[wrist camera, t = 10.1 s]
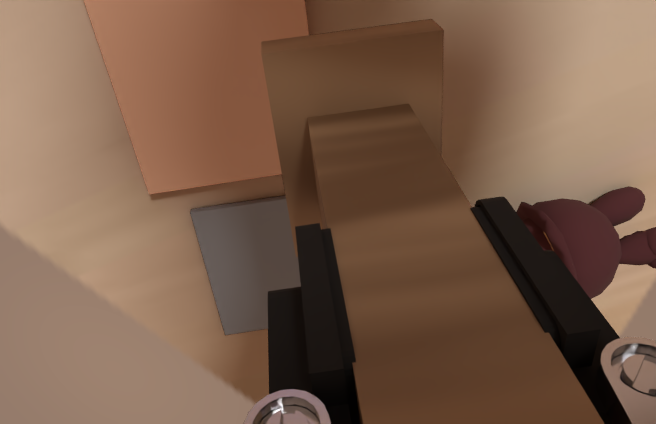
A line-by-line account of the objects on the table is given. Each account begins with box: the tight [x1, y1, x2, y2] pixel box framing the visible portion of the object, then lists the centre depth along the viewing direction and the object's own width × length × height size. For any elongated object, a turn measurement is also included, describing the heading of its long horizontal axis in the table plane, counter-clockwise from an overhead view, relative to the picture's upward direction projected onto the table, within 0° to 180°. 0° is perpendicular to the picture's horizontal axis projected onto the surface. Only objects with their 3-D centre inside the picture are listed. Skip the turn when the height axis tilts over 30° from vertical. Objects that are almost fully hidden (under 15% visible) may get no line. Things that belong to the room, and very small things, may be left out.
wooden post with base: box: [261, 19, 604, 424], centre depth 12 cm, size 7×5×12 cm
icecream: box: [516, 187, 656, 299], centre depth 33 cm, size 7×7×15 cm
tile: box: [84, 0, 309, 194], centre depth 28 cm, size 12×2×10 cm
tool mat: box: [190, 196, 301, 335], centre depth 35 cm, size 10×9×1 cm
